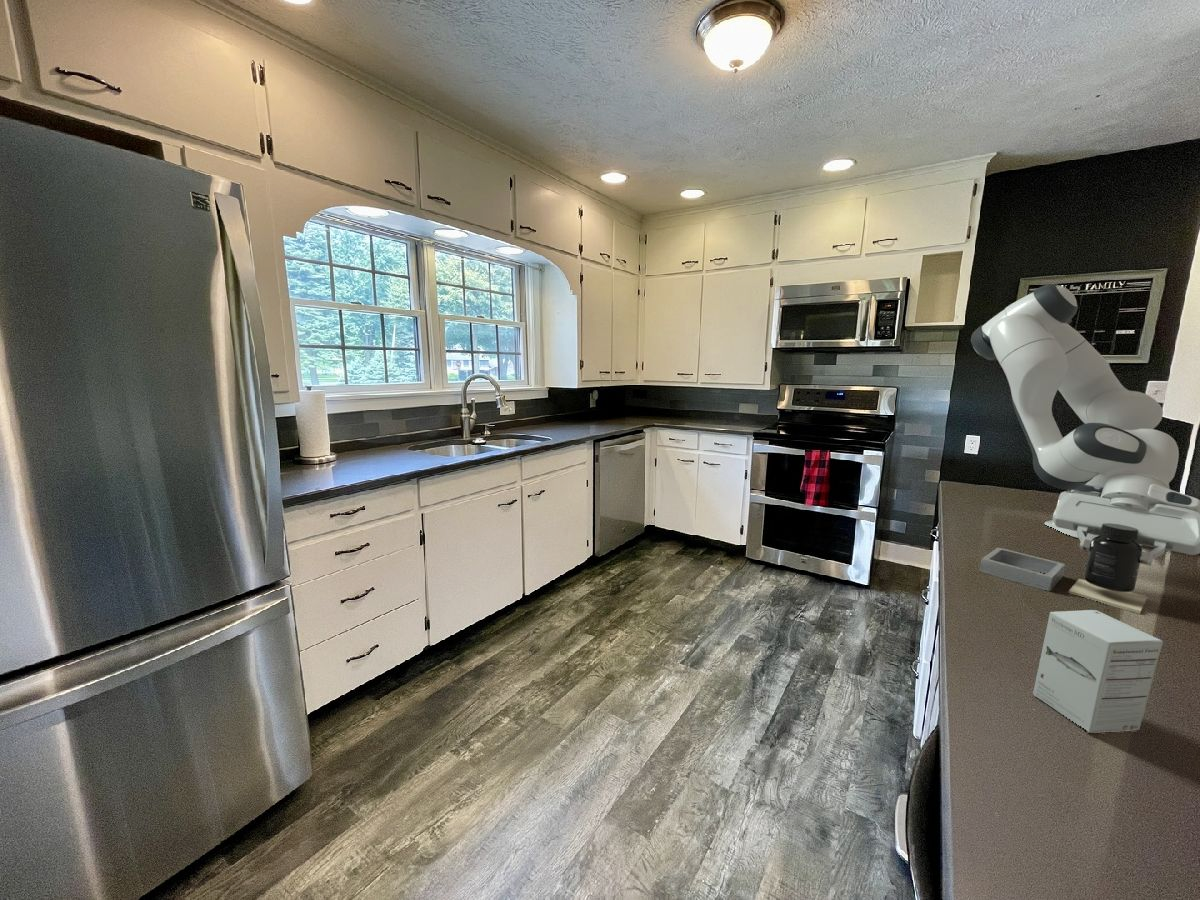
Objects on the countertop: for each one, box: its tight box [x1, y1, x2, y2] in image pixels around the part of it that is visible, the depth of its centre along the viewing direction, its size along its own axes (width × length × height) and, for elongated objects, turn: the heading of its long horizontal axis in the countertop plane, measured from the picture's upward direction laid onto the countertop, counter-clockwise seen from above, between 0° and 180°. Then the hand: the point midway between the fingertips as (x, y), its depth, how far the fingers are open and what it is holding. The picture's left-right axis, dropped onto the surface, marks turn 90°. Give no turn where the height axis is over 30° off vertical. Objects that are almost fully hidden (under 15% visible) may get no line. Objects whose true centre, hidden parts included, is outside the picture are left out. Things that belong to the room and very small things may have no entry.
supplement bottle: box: [1084, 523, 1143, 592], centre depth 93 cm, size 7×7×12 cm
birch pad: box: [1067, 578, 1148, 615], centre depth 94 cm, size 10×10×1 cm
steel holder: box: [979, 546, 1066, 592], centre depth 104 cm, size 12×12×3 cm
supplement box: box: [1032, 609, 1164, 732], centre depth 61 cm, size 7×7×13 cm
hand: (1113, 555), depth 92 cm, fingers closed on supplement bottle, 7 cm apart
